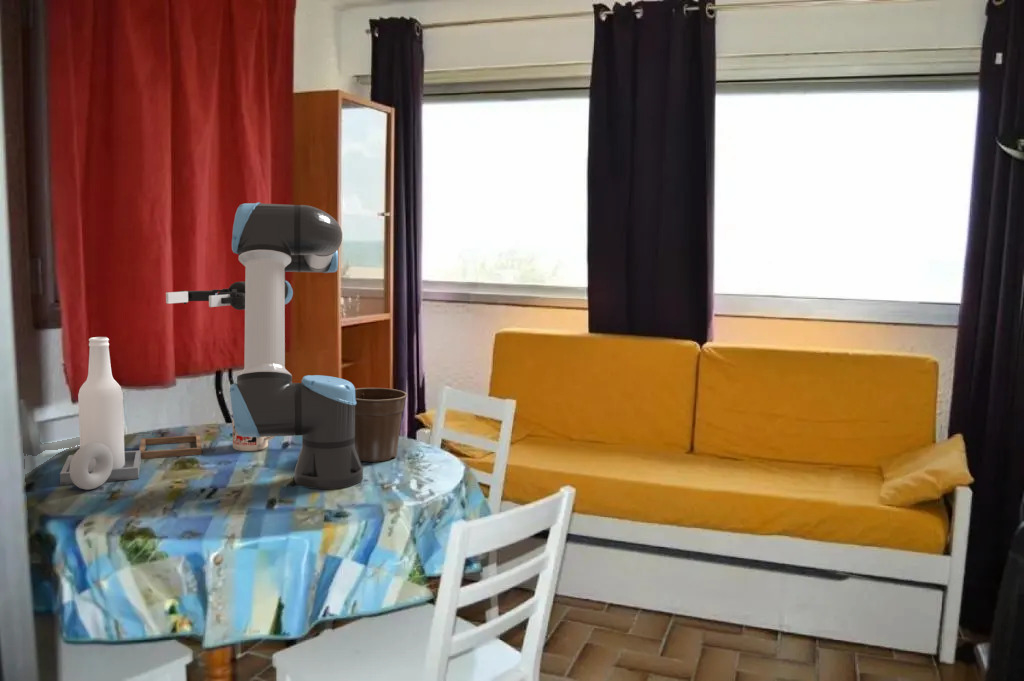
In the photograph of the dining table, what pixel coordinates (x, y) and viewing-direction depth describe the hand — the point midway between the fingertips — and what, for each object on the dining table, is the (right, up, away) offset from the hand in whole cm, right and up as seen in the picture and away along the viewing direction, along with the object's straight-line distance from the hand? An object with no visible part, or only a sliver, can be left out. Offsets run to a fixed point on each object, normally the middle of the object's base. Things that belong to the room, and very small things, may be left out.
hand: (188, 299), depth 190 cm
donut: (-9, -42, -26) cm, 50 cm away
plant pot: (+45, -39, +5) cm, 60 cm away
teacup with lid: (+14, -38, +9) cm, 41 cm away
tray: (-13, -40, -15) cm, 45 cm away
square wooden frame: (-6, -37, +5) cm, 38 cm away
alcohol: (-13, -39, -15) cm, 44 cm away
